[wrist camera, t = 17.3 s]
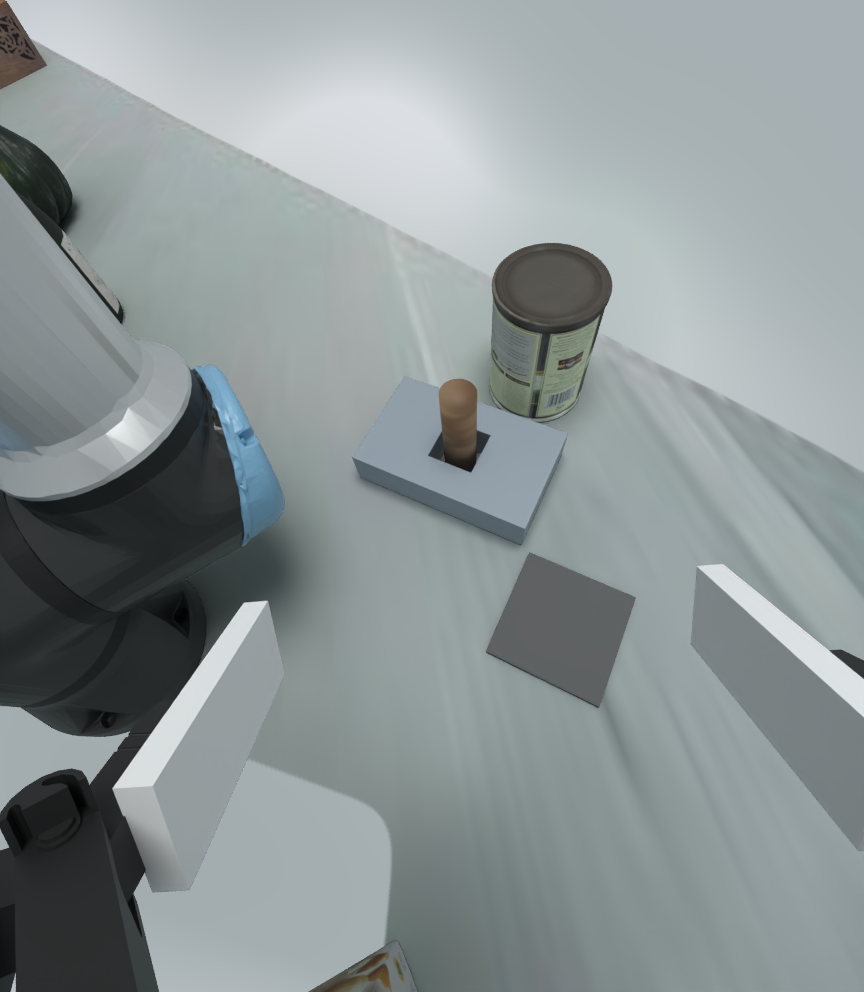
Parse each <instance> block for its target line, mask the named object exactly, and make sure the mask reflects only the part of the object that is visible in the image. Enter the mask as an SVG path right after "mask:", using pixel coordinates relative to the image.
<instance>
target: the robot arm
mask: <svg viewBox="0 0 864 992" xmlns="http://www.w3.org/2000/svg"><path fill="white" fill-rule="evenodd" d="M284 506H285V500H284V495H283V492H282V489H281V487H280V484H279V482H278V480H277V477H276V475H275V473H274V471H273V469H272V467H271V464H270V462H269V460H268V458H267V456H266V454H265V452H264V450H263V448H262V446H261V444H260V442H259V441H258V439H257V437H256V436H255V435H254V431H253V429H252V427H251V425H250V423H249V421H248V418H247V416H246V414H245V412H244V410H243V408H242V407H241V405H240V403H239V401H238V399H237V397H236V395H235V394H234V392H233V390H232V388H231V386H230V385H229V383H228V381H227V379H226V378H225V376H224V375H223V373H222V372H221V370H220V369H219V368H218V367H217V366H214V365H206V366H203V367H202V366H199V367H198V366H197V367H195V368H194V369H193V370H192V371H191V369H190V368H189V367H188V365H187V364H186V362H185V361H184V360H183V359H182V357H181V356H180V355H178V354H177V353H176V352H175V351H174V350H172V349H171V348H170V347H167V346H165V345H162V344H159V343H155V342H150V341H142V340H134V339H132V337H131V336H130V335H129V334H128V332H127V331H126V330H125V329H124V327H123V326H122V325H121V324H120V322H119V321H118V320H117V319H116V317H115V316H114V315H113V314H112V312H111V311H110V310H109V309H108V307H107V306H106V305H105V304H104V302H103V301H102V300H101V299H100V297H99V296H98V295H97V294H96V292H95V291H94V290H93V289H92V288H91V286H90V285H89V284H88V283H87V281H86V280H85V279H84V278H83V276H82V275H81V274H80V273H79V271H78V270H77V269H76V268H75V266H74V265H73V264H72V263H71V261H70V260H69V259H68V258H67V256H66V255H65V254H64V253H63V251H62V250H61V249H60V248H59V246H58V245H57V244H56V243H55V241H54V240H53V239H52V238H51V236H50V235H49V234H48V233H47V231H46V230H45V229H44V228H43V226H42V225H41V224H40V223H39V221H38V220H37V219H36V218H35V216H34V215H33V214H32V213H31V211H30V210H29V209H28V208H27V206H26V205H25V204H24V203H23V201H22V200H21V199H20V198H19V197H18V195H17V194H16V193H15V192H14V190H13V189H12V188H11V187H10V185H9V184H8V183H7V182H6V180H5V179H4V178H3V177H2V175H1V174H0V706H11V707H12V706H13V707H21V708H22V709H24V710H25V711H27V712H28V713H30V714H32V715H33V716H34V717H36V718H38V719H39V720H41V721H42V722H44V723H45V724H47V725H48V726H50V727H51V728H53V729H55V730H58V731H61V732H63V733H66V734H71V735H76V736H93V737H106V736H113V735H119V734H122V733H126V732H129V731H130V733H129V736H128V737H126V738H125V739H124V741H123V742H122V743H121V745H120V746H119V747H118V751H117V752H114V754H113V755H112V756H111V757H110V759H109V760H108V761H107V763H106V764H105V765H104V767H103V768H102V769H101V771H100V772H99V773H98V774H97V776H96V777H95V779H94V780H93V781H92V782H91V784H90V785H89V783H88V780H87V778H86V776H85V775H84V774H83V772H82V771H79V770H75V769H67V770H60V771H56V772H54V773H51V774H48V775H46V776H43V777H41V778H39V779H38V780H36V781H34V782H33V783H31V784H29V785H28V786H26V787H25V788H23V789H22V790H21V791H20V792H19V793H18V794H16V795H15V796H14V797H13V798H12V799H11V800H10V801H9V802H8V803H7V805H6V806H5V807H4V808H3V810H2V811H1V813H0V829H1V831H2V833H3V835H4V837H5V839H6V841H7V843H8V845H9V847H10V848H7V849H4V850H1V851H0V992H10V991H11V988H12V984H13V980H14V976H15V973H16V992H159V990H158V986H157V981H156V978H155V973H154V970H153V965H152V961H151V957H150V953H149V949H148V945H147V941H146V936H145V933H144V928H143V924H142V920H141V916H140V912H139V908H138V904H137V901H136V899H135V896H134V894H133V893H134V891H135V889H136V887H137V885H138V884H139V882H140V880H141V878H142V876H143V874H144V872H145V874H146V877H147V879H148V882H149V884H150V887H151V890H152V892H169V891H185V890H190V888H191V886H192V884H193V881H194V879H195V877H196V874H197V872H198V870H199V868H200V865H201V863H202V861H203V859H204V856H205V854H206V851H207V849H208V847H209V845H210V843H211V840H212V838H213V836H214V834H215V831H216V829H217V827H218V824H219V822H220V820H221V818H222V815H223V813H224V811H225V809H226V807H227V804H228V802H229V799H230V797H231V795H232V793H233V791H234V788H235V786H236V784H237V782H238V779H239V777H240V775H241V772H242V770H243V768H244V766H245V763H246V761H247V759H248V757H249V754H250V752H251V750H252V748H253V745H254V743H255V741H256V738H257V736H258V734H259V732H260V729H261V727H262V725H263V723H264V720H265V718H266V716H267V714H268V711H269V709H270V707H271V704H272V702H273V700H274V698H275V695H276V693H277V691H278V689H279V686H280V684H281V682H282V680H283V677H284V675H285V674H284V670H283V665H282V661H281V656H280V652H279V647H278V643H277V638H276V634H275V629H274V625H273V621H272V616H271V612H270V607H269V603H268V601H259V602H246V603H243V605H242V606H241V607H240V609H239V610H238V612H237V613H236V615H235V616H234V617H233V619H232V620H231V622H230V623H229V624H228V626H227V627H226V629H225V630H224V632H223V633H222V634H221V636H220V637H219V639H218V640H217V641H216V643H215V644H214V646H213V647H212V648H211V650H210V651H209V653H208V654H207V656H206V657H205V658H204V660H203V661H202V663H201V664H200V665H199V667H198V668H197V666H198V663H199V661H200V658H201V655H202V651H203V647H204V642H205V635H206V620H205V613H204V609H203V605H202V603H201V600H200V598H199V596H198V594H197V593H196V591H195V590H194V588H193V587H192V586H191V585H190V584H189V583H188V582H187V581H186V580H185V578H187V577H189V576H190V575H192V574H194V573H196V572H197V571H199V570H201V569H203V568H204V567H206V566H208V565H210V564H211V563H213V562H215V561H217V560H218V559H220V558H222V557H224V556H225V555H227V554H229V553H231V552H232V551H234V550H236V549H238V548H239V547H243V546H245V545H246V544H247V543H248V542H249V540H250V539H251V538H253V537H254V536H256V535H257V534H259V533H260V532H262V531H263V530H264V529H266V528H267V527H269V526H270V525H272V524H273V523H275V522H276V521H277V520H278V519H279V518H280V516H281V515H282V513H283V510H284ZM691 645H692V647H693V648H694V649H695V650H696V651H697V653H698V654H699V655H700V656H701V658H702V659H703V660H704V661H705V663H706V664H707V665H708V666H709V668H710V669H711V670H712V671H713V672H714V674H715V675H716V676H717V677H718V679H719V680H720V681H721V682H722V684H723V685H724V686H725V687H726V689H727V690H728V691H729V692H730V693H731V695H732V696H733V697H734V698H735V700H736V701H737V702H738V703H739V705H740V706H741V707H742V708H743V710H744V711H745V712H746V713H747V714H748V716H749V717H750V718H751V719H752V721H753V722H754V723H755V724H756V726H757V727H758V728H759V729H760V730H761V732H762V733H763V734H764V735H765V737H766V738H767V739H768V740H769V742H770V743H771V744H772V745H773V747H774V748H775V749H776V750H777V751H778V753H779V754H780V755H781V756H782V758H783V759H784V760H785V761H786V763H787V764H788V765H789V766H790V768H791V769H792V770H793V771H794V772H795V774H796V775H797V776H798V777H799V779H800V780H801V781H802V782H803V784H804V785H805V786H806V787H807V788H808V790H809V791H810V792H811V793H812V795H813V796H814V797H815V798H816V800H817V801H818V802H819V803H820V805H821V806H822V807H823V808H824V809H825V811H826V812H827V813H828V814H829V816H830V817H831V818H832V819H833V821H834V822H835V823H836V824H837V826H838V827H839V828H840V829H841V830H842V832H843V833H844V834H845V835H846V837H847V838H848V839H849V840H850V842H851V843H852V844H853V845H854V846H855V848H856V849H857V850H858V851H864V661H863V660H861V659H859V658H857V657H855V656H853V655H851V654H849V653H847V652H845V651H843V650H827V649H826V648H825V647H824V646H822V645H821V644H820V643H819V642H818V641H816V640H815V639H814V638H813V637H811V636H810V635H809V634H808V633H807V632H805V631H804V630H803V629H802V628H800V627H799V626H798V625H797V624H796V623H794V622H793V621H792V620H791V619H789V618H788V617H787V616H786V615H785V614H783V613H782V612H781V611H780V610H778V609H777V608H776V607H775V606H773V605H772V604H771V603H770V602H769V601H767V600H766V599H765V598H764V597H762V596H761V595H760V594H759V593H758V592H756V591H755V590H754V589H753V588H751V587H750V586H749V585H748V584H747V583H745V582H744V581H743V580H742V579H740V578H739V577H738V576H737V575H735V574H734V573H733V572H732V571H731V570H729V569H728V568H727V567H726V566H724V565H723V564H718V565H706V566H697V571H696V584H695V596H694V609H693V621H692V634H691ZM196 668H197V670H196ZM195 670H196V671H195ZM194 672H195V673H194Z"/></svg>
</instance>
